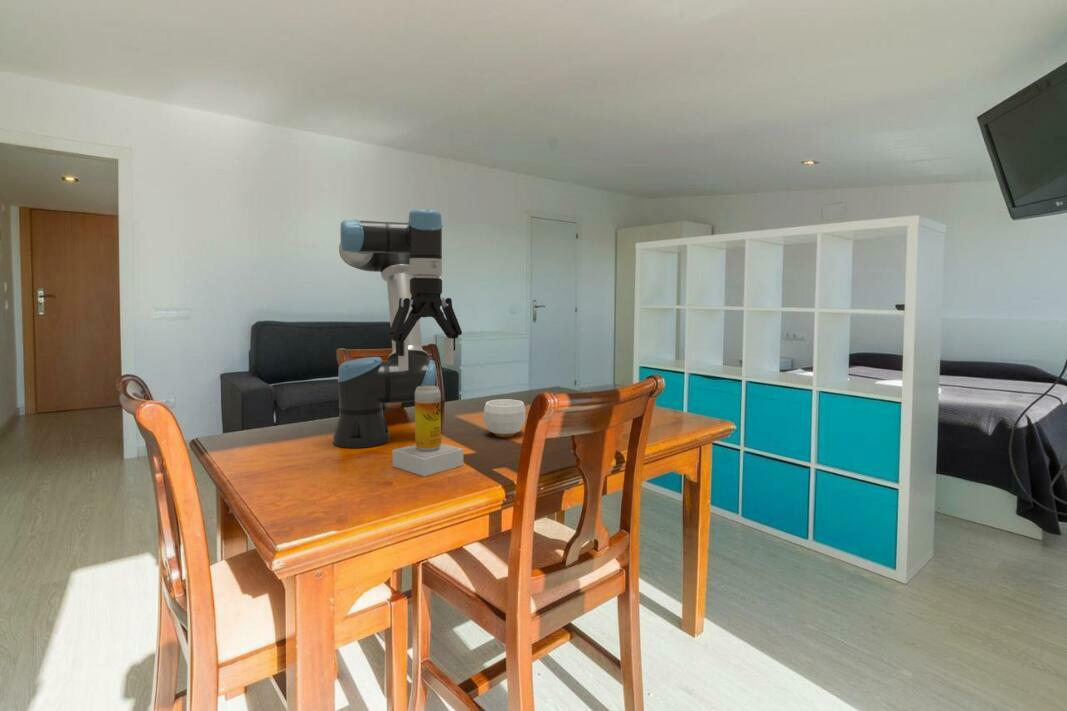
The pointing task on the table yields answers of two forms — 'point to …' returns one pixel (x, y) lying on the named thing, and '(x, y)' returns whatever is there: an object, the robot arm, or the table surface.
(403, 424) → the table surface
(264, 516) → the table surface
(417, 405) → the yellow labeled bottle
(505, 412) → the cup
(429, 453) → the pedestal
